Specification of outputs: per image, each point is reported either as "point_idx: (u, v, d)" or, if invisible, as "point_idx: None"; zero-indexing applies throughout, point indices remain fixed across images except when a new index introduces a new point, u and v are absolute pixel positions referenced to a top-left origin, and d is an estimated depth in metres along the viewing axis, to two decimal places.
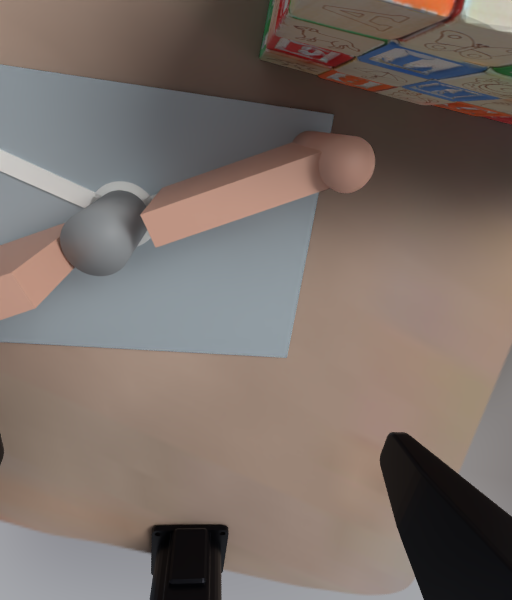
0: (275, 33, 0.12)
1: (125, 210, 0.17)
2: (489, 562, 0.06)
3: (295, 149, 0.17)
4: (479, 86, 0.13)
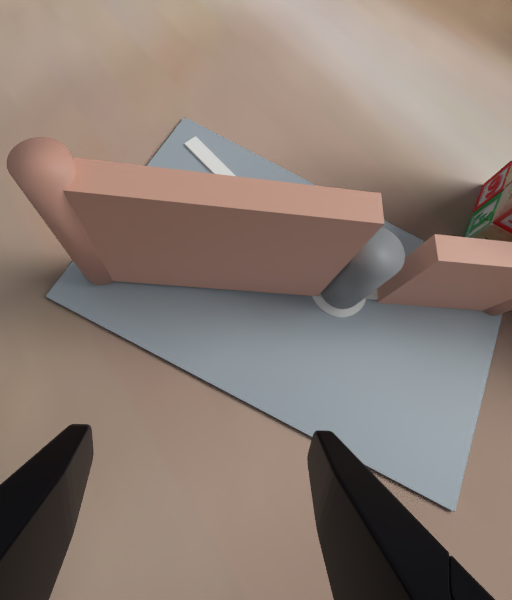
0: None
1: None
2: (381, 565, 0.06)
3: None
4: None
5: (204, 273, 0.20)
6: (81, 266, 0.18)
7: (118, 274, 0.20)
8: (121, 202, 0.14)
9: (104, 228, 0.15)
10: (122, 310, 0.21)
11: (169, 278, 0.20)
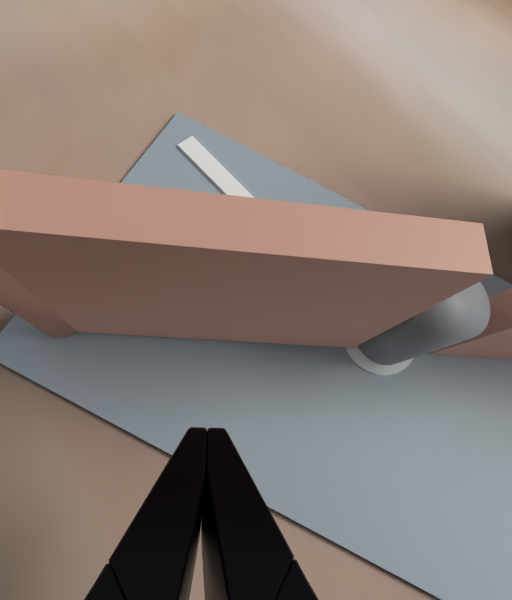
0: None
1: None
2: (221, 569, 0.06)
3: None
4: None
5: (202, 326, 0.14)
6: (25, 320, 0.13)
7: (82, 325, 0.14)
8: (59, 243, 0.08)
9: (44, 276, 0.10)
10: (90, 372, 0.15)
11: (154, 330, 0.15)
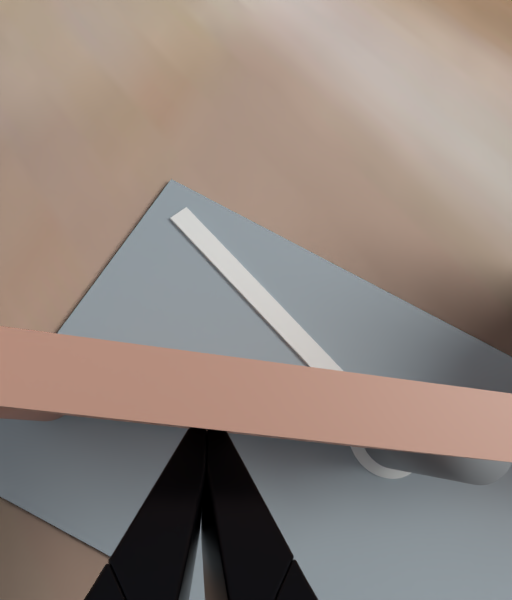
0: None
1: None
2: (221, 569, 0.06)
3: None
4: None
5: None
6: None
7: None
8: None
9: None
10: (72, 488, 0.14)
11: None
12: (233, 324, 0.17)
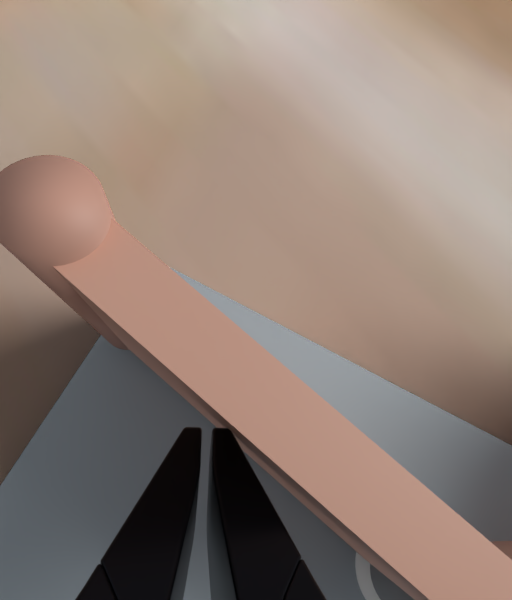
0: None
1: None
2: (228, 569, 0.06)
3: None
4: None
5: None
6: None
7: (133, 352, 0.14)
8: (131, 337, 0.07)
9: (113, 327, 0.09)
10: None
11: (188, 401, 0.14)
12: None
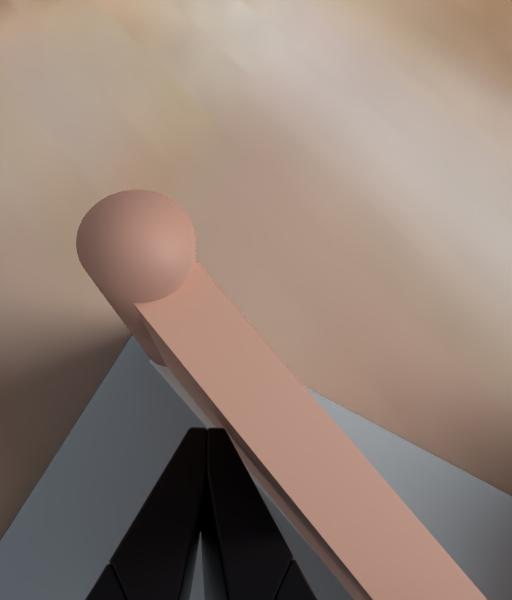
0: None
1: None
2: (220, 569, 0.06)
3: None
4: None
5: (258, 478, 0.12)
6: None
7: (172, 372, 0.14)
8: (198, 385, 0.07)
9: (170, 359, 0.09)
10: None
11: None
12: None
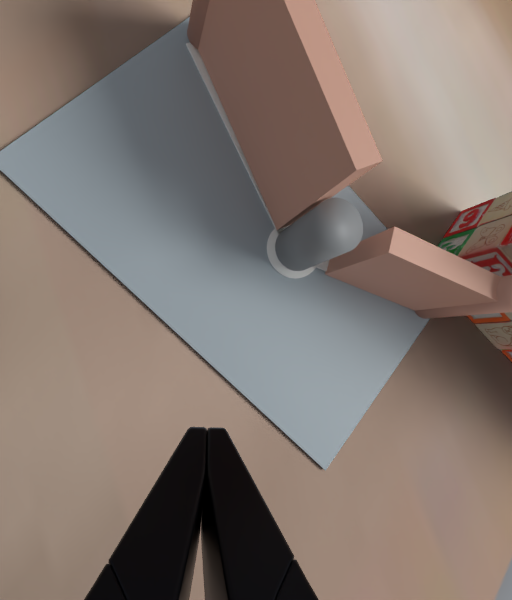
0: (503, 246, 0.21)
1: None
2: (221, 569, 0.06)
3: None
4: None
5: (241, 107, 0.21)
6: None
7: (204, 42, 0.21)
8: None
9: None
10: (71, 201, 0.20)
11: (223, 87, 0.22)
12: (211, 140, 0.23)
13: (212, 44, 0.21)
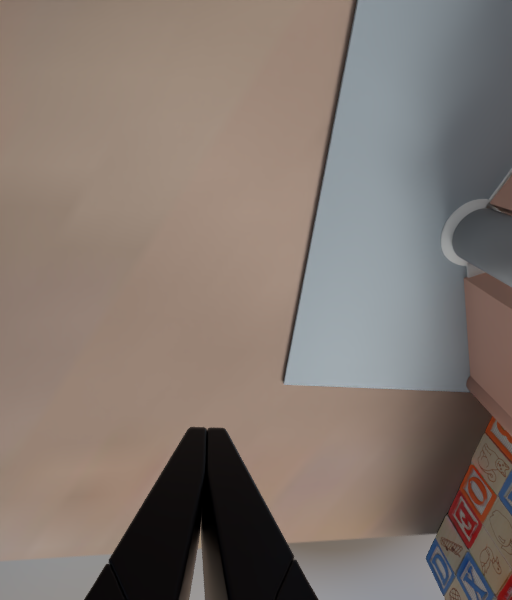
0: None
1: None
2: (221, 569, 0.06)
3: None
4: None
5: None
6: None
7: None
8: None
9: None
10: None
11: None
12: None
13: None
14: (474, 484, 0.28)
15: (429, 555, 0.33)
